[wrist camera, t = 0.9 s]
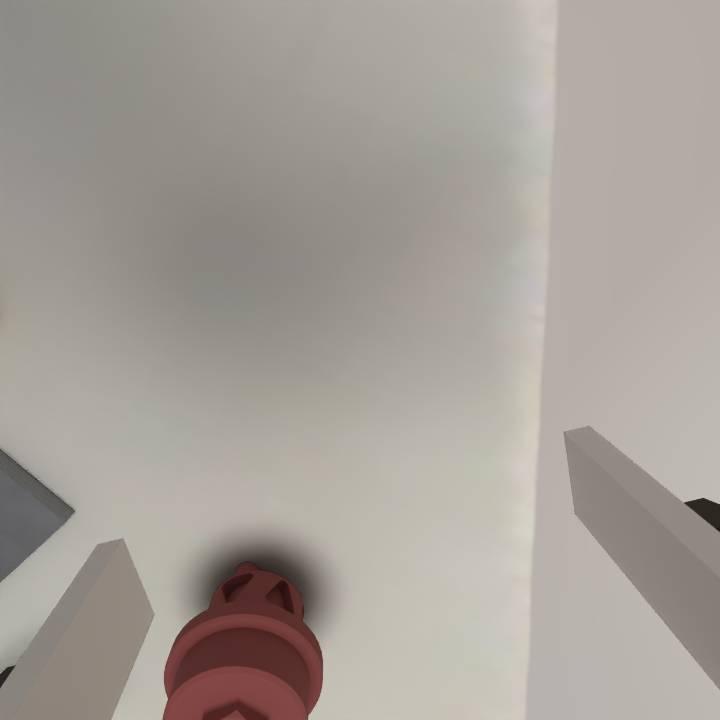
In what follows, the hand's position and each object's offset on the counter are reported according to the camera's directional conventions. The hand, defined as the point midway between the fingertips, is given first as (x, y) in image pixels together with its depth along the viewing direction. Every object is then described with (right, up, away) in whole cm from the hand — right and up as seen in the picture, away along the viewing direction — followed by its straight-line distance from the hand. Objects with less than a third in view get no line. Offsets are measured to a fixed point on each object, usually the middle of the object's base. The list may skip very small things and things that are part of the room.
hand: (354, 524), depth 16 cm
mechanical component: (-8, -14, +27) cm, 31 cm away
